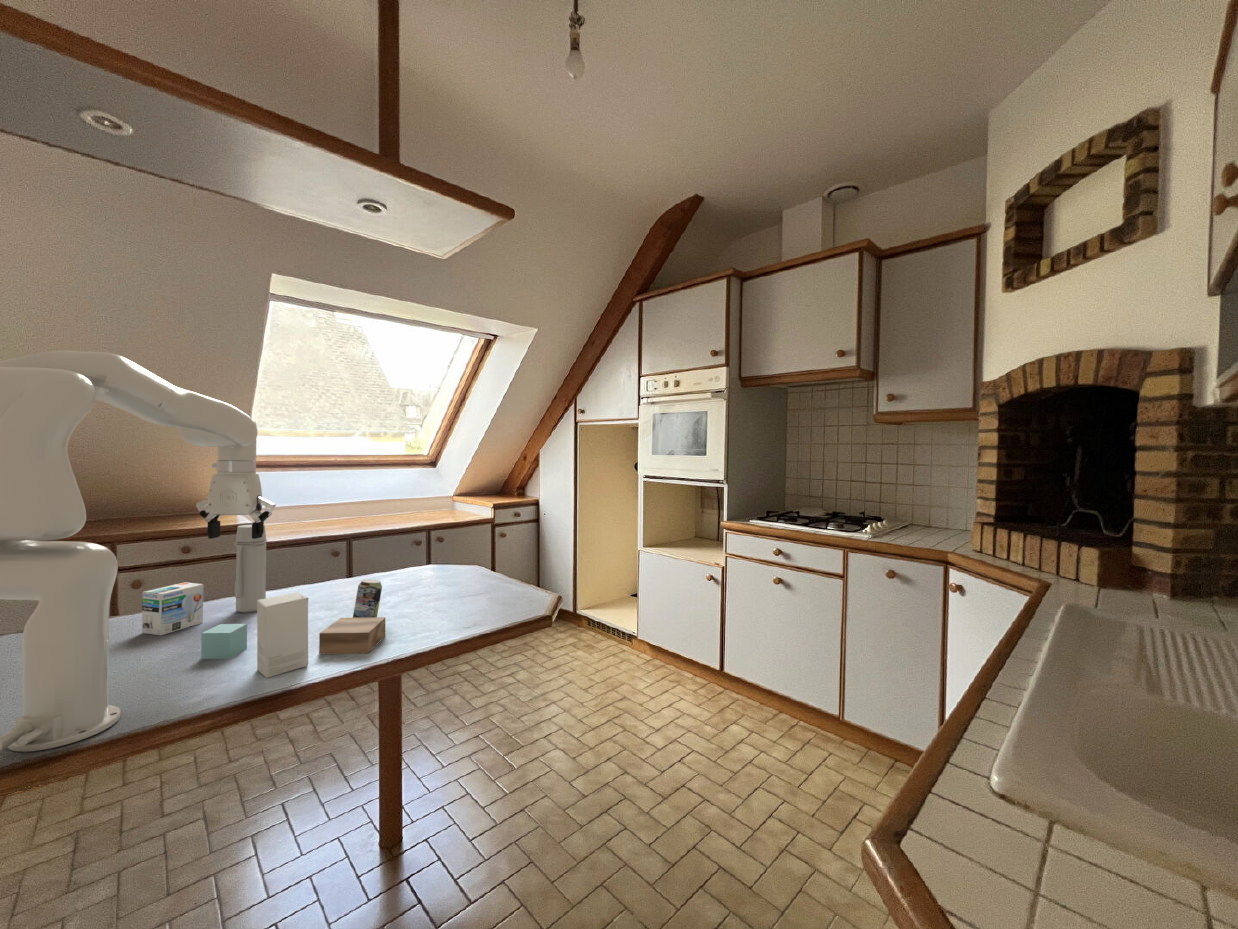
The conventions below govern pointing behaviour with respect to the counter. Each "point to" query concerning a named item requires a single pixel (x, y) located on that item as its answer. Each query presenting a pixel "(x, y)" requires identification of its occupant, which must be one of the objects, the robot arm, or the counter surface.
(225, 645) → the teal cube
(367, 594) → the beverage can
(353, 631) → the walnut block
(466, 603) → the counter surface
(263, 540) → the water bottle
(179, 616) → the light bulb box
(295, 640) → the skincare box
